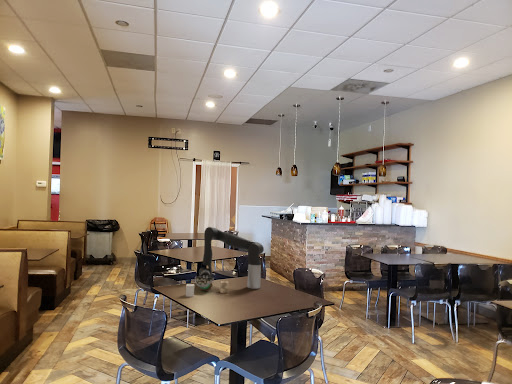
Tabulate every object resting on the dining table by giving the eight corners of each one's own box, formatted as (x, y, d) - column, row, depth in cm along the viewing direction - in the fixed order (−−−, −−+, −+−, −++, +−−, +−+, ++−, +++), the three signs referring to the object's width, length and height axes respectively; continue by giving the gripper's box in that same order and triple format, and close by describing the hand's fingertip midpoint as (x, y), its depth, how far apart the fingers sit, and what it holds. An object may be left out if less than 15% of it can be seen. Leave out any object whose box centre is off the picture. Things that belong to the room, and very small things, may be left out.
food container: (195, 290, 251) (191, 284, 244) (198, 282, 255) (195, 275, 248) (211, 294, 248) (208, 287, 241) (214, 286, 252) (211, 279, 244)
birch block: (227, 291, 253) (227, 281, 253) (227, 293, 248) (228, 282, 248) (220, 291, 252) (220, 281, 253) (220, 292, 247) (221, 282, 248)
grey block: (193, 294, 238) (194, 284, 238) (193, 296, 233) (194, 285, 233) (186, 294, 237) (186, 284, 237) (185, 296, 232) (186, 285, 233)
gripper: (196, 270, 268) (196, 275, 251) (214, 271, 270) (215, 275, 253) (196, 281, 268) (195, 285, 250) (213, 281, 269) (214, 286, 252)
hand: (205, 280), depth 252 cm, fingers closed
